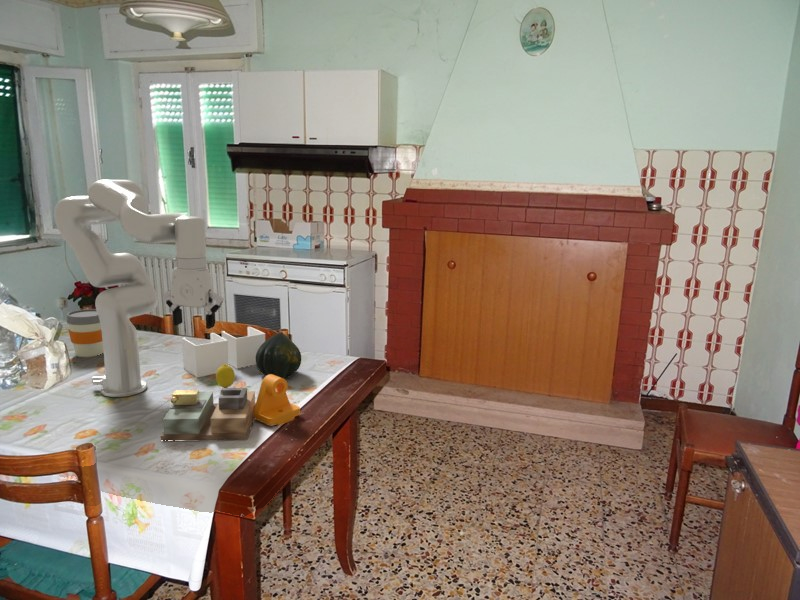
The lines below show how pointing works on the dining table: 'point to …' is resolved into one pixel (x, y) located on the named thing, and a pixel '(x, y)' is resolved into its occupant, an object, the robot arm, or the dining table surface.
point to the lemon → (225, 376)
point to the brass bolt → (185, 397)
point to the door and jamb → (212, 417)
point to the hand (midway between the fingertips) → (194, 325)
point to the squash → (278, 356)
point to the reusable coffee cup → (85, 332)
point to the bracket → (274, 402)
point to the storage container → (221, 352)
